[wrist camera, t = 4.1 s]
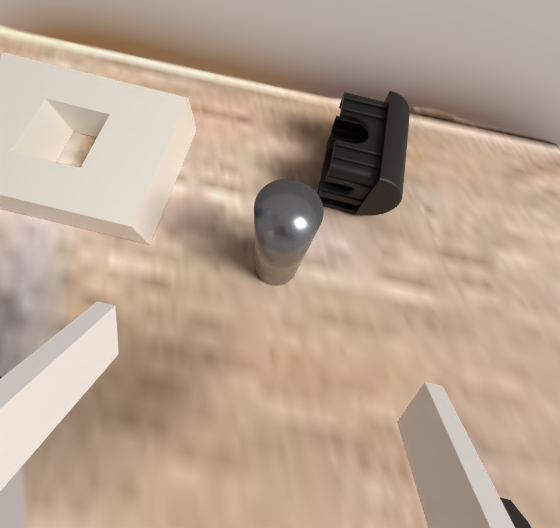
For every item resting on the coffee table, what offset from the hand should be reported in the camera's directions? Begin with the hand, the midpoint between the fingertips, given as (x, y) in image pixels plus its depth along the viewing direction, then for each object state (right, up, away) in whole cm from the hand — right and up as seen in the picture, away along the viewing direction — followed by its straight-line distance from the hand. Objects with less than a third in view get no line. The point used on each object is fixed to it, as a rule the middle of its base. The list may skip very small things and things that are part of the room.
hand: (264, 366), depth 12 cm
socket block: (-19, +15, +16) cm, 29 cm away
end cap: (+9, +14, +19) cm, 25 cm away
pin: (0, +4, +14) cm, 15 cm away
